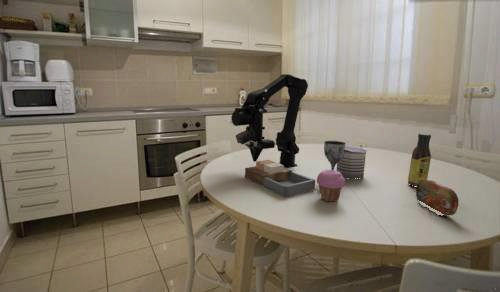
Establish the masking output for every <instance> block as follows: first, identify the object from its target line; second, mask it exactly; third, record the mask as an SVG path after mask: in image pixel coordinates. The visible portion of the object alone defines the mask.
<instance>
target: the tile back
mask: <svg viewBox="0 0 500 292" xmlns="http://www.w3.org/2000/svg"><path fill="white" fill-rule="evenodd" d="M270 163H276V162H275V161H273V160H270V159H263V160H257V161H256V163H255V166H256V168H258V169H260V170H264V164H270Z"/></svg>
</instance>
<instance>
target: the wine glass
mask: <svg viewBox="0 0 500 292" xmlns="http://www.w3.org/2000/svg"><path fill="white" fill-rule="evenodd" d="M346 145H347V143H346V142H344V141H341V140H340V141H339V140H325V141H324V143H323V152H324V153H323V154H324V157H325V158H326V160H327V161H328V163H329V164H330V168H331V169H330V170H335V167H336V166H337V163H338V162H339V161H340V160H341V159H342V157H343V155H344V152H345V146H346Z"/></svg>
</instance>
